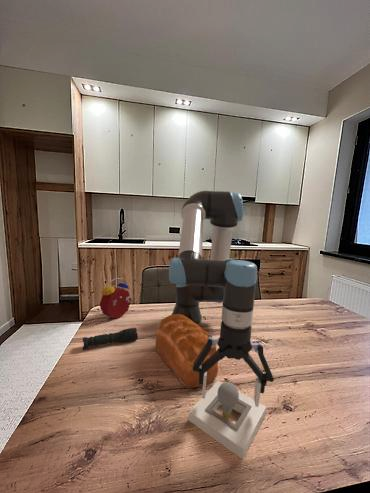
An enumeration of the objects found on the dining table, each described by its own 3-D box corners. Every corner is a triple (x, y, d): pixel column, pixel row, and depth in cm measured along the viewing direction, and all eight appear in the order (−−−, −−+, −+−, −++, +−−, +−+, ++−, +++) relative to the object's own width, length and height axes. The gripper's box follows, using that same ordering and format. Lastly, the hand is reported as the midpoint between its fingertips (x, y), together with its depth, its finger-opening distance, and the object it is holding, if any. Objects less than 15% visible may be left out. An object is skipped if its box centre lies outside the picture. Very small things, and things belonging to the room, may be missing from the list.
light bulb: (226, 404, 66) (228, 374, 64) (240, 419, 61) (244, 388, 59) (211, 414, 63) (213, 382, 61) (225, 430, 58) (228, 398, 56)
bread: (186, 393, 70) (189, 345, 67) (151, 347, 92) (152, 310, 90) (222, 378, 77) (225, 335, 75) (181, 339, 99) (183, 305, 97)
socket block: (188, 420, 61) (189, 410, 60) (217, 388, 72) (218, 379, 72) (242, 459, 52) (243, 447, 51) (265, 415, 63) (266, 405, 63)
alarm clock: (123, 310, 125) (123, 273, 122) (134, 314, 120) (135, 277, 117) (99, 319, 113) (99, 279, 110) (110, 325, 108) (110, 283, 105)
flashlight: (137, 342, 96) (138, 330, 95) (83, 353, 87) (83, 340, 86) (134, 336, 100) (135, 325, 100) (82, 346, 91) (82, 334, 90)
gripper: (185, 324, 56) (180, 402, 59) (293, 336, 53) (282, 418, 56) (188, 311, 63) (184, 381, 66) (284, 321, 60) (275, 394, 63)
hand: (229, 398), depth 61 cm, fingers open, 13 cm apart
